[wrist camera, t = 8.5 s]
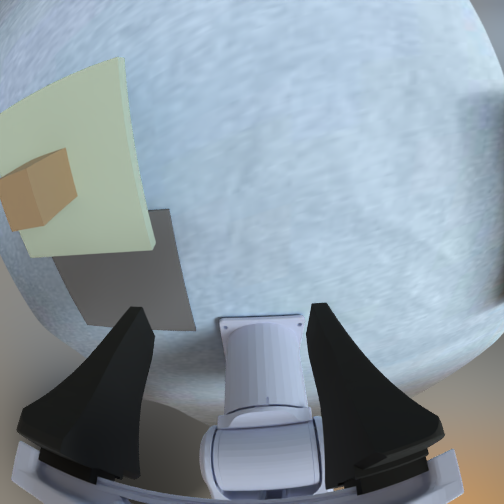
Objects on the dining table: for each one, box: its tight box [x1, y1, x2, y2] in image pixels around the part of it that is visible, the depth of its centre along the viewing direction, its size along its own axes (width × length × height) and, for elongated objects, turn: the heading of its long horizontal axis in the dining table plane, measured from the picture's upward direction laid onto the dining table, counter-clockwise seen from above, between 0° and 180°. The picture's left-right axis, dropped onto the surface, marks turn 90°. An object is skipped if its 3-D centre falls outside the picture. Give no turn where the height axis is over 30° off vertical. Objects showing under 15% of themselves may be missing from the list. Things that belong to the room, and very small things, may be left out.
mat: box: [52, 209, 196, 331], centre depth 22 cm, size 13×13×1 cm
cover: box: [0, 57, 156, 258], centre depth 11 cm, size 11×11×4 cm
